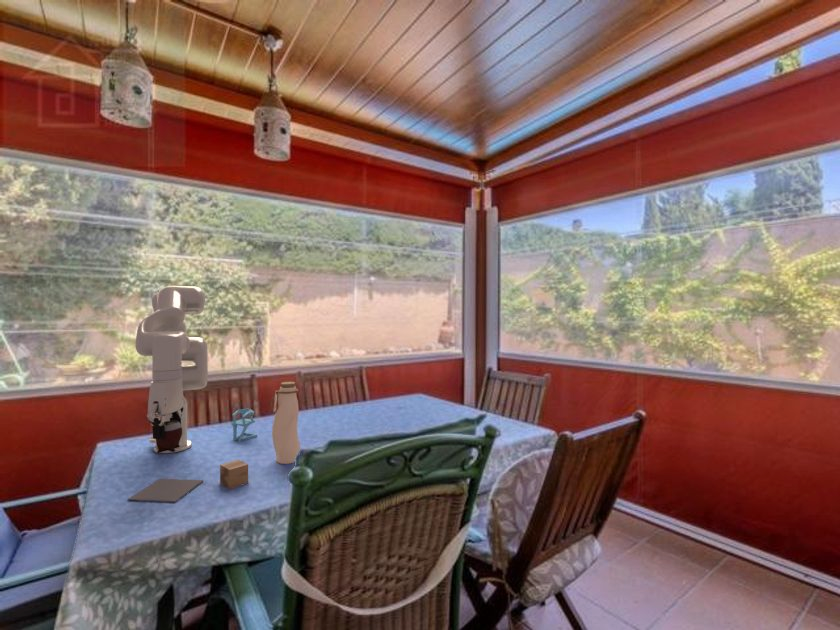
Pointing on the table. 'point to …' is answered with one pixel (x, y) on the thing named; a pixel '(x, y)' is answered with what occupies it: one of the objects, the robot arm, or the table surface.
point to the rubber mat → (166, 490)
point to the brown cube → (233, 474)
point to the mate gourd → (170, 436)
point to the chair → (243, 424)
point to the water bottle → (286, 423)
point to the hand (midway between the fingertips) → (167, 434)
